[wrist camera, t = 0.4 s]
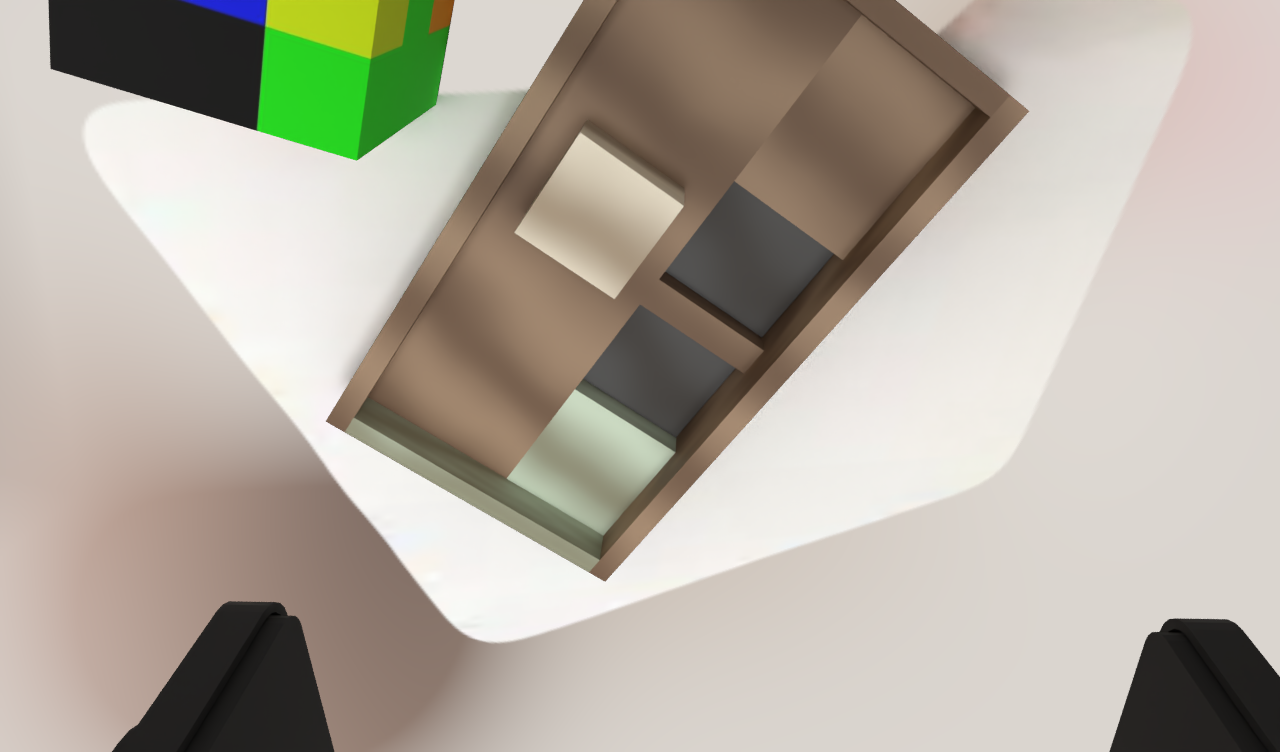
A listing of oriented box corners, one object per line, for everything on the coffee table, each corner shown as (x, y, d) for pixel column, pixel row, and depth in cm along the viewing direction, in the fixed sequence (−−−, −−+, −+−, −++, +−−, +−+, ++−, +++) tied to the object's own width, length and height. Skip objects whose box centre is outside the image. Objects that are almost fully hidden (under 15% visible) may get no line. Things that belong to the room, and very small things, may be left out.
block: (587, 119, 36) (580, 132, 34) (684, 189, 37) (684, 206, 35) (524, 214, 38) (514, 232, 36) (618, 277, 39) (614, 299, 37)
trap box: (689, -163, 32) (688, -172, 29) (1000, 94, 36) (1029, 111, 33) (351, 386, 44) (325, 421, 41) (610, 539, 48) (605, 581, 45)
